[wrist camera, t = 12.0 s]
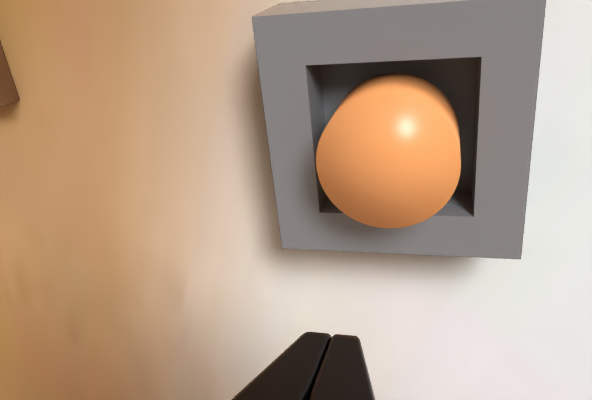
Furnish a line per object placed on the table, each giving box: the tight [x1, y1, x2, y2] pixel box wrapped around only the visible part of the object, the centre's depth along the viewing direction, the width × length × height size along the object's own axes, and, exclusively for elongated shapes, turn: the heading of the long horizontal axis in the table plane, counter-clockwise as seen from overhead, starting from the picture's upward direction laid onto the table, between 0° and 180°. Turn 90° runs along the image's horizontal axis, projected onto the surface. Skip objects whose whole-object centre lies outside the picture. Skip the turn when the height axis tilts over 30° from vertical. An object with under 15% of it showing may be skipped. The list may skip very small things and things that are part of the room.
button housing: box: [252, 0, 546, 259], centre depth 18 cm, size 8×8×3 cm
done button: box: [316, 73, 461, 228], centre depth 16 cm, size 4×4×2 cm
